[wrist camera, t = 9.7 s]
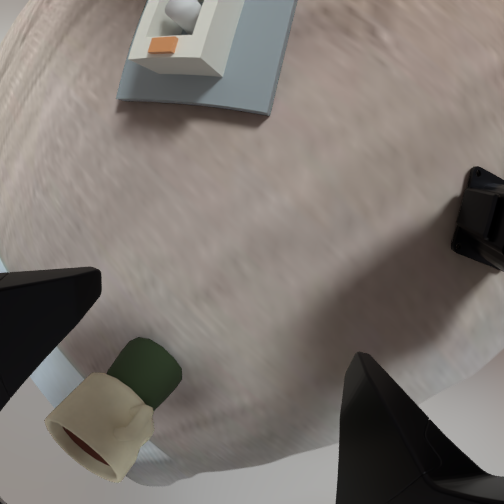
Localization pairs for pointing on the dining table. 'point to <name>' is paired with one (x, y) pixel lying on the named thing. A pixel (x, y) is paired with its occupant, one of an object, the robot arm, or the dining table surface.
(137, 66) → the stud board
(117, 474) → the character mug
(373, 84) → the dining table surface
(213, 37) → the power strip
